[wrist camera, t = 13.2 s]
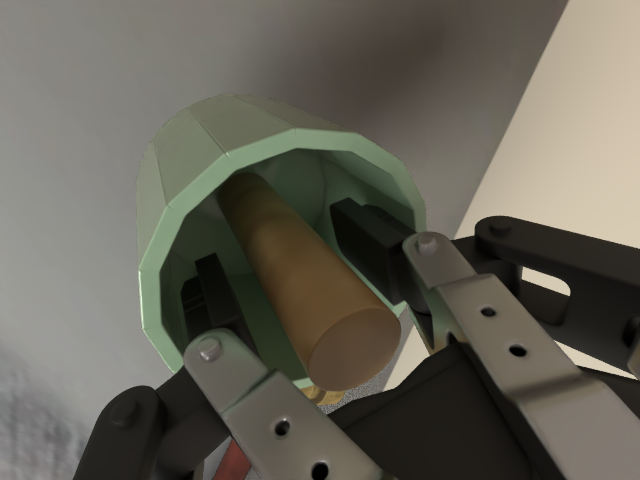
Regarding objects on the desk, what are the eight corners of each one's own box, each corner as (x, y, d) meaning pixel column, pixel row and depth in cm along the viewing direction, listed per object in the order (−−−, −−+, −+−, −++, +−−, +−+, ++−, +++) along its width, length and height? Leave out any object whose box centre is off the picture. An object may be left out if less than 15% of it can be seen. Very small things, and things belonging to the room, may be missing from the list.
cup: (188, 303, 19) (217, 438, 12) (92, 133, 14) (58, 211, 8) (341, 235, 21) (433, 320, 15) (305, 67, 16) (418, 84, 10)
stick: (229, 231, 17) (320, 408, 9) (209, 184, 16) (295, 340, 8) (277, 211, 18) (406, 360, 10) (263, 164, 17) (396, 289, 8)
